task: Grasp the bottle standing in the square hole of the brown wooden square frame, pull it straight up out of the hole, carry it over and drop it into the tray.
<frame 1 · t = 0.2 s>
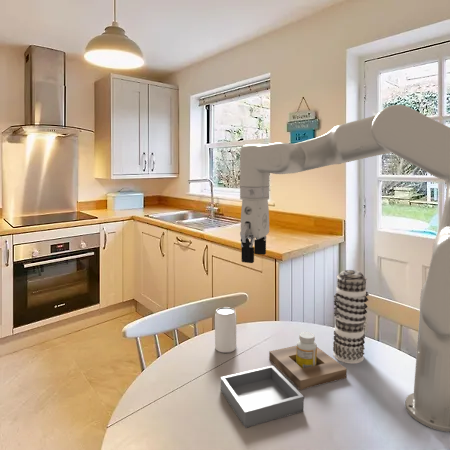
hand: (254, 258, 100), 30 cm above the table, tool pointing down, fingers open, 9 cm apart
can: (225, 348, 114), on the table
tray: (260, 400, 89), on the table
decorative candle: (348, 356, 109), on the table
brown wooden square frame: (306, 368, 102), on the table
supplement bottle: (306, 369, 102), resting in brown wooden square frame
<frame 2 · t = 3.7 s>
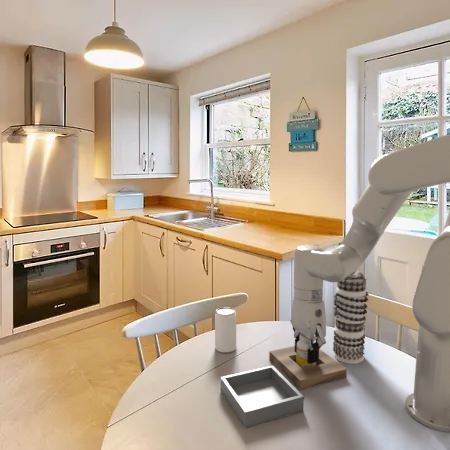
hand: (306, 356, 102), 4 cm above the table, tool pointing down, fingers closed on supplement bottle, 5 cm apart
supplement bottle: (306, 368, 102), resting in brown wooden square frame, touching gripper
everything else where it was.
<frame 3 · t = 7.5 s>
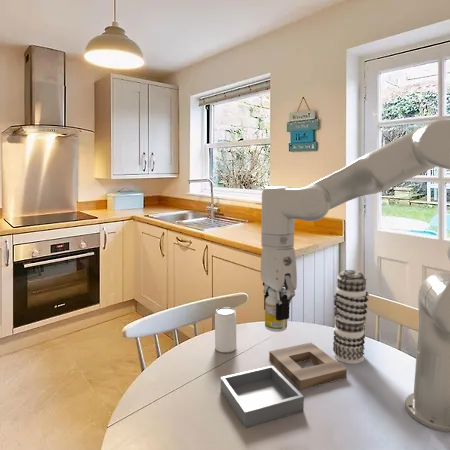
hand: (276, 313, 90), 20 cm above the table, tool pointing down, fingers closed on supplement bottle, 5 cm apart
supplement bottle: (275, 328, 91), point 16 cm above the table, touching gripper
everything else where it was.
when the fingers open (6 cm above the table, at t = 11.4 s): supplement bottle drops 2 cm, resting on tray.
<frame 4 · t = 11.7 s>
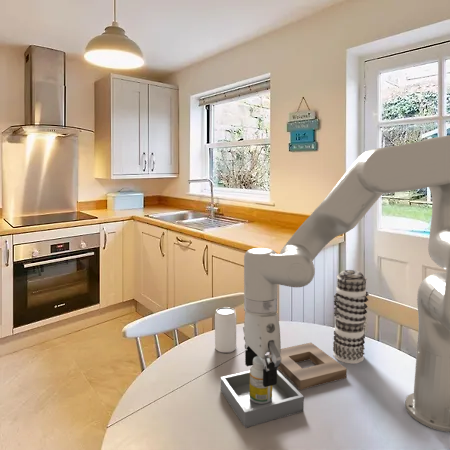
hand: (260, 374, 88), 7 cm above the table, tool pointing down, fingers open, 8 cm apart
supplement bottle: (260, 398, 89), resting on tray
everything else where it was.
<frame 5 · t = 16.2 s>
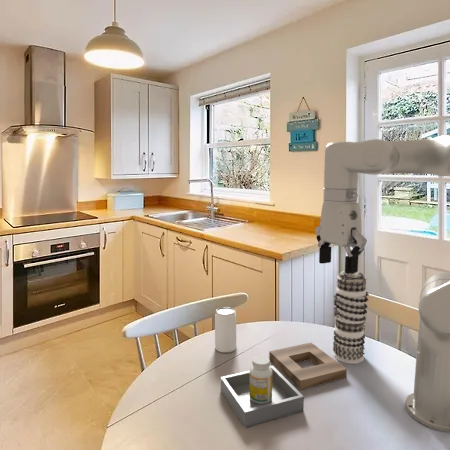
hand: (337, 267, 90), 30 cm above the table, tool pointing down, fingers open, 9 cm apart
nothing on the table moved.
at the end: supplement bottle inside the target area on the tray (0.2 cm from its centre), point 0.4 cm above the tray's base; the gripper is holding nothing; supplement bottle touching tray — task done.
